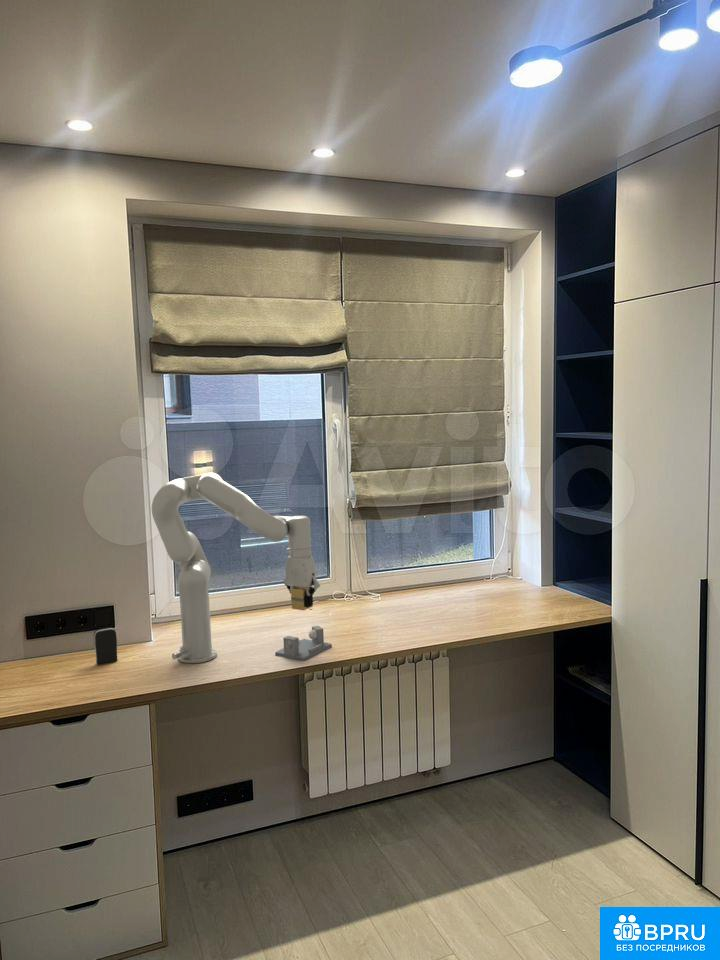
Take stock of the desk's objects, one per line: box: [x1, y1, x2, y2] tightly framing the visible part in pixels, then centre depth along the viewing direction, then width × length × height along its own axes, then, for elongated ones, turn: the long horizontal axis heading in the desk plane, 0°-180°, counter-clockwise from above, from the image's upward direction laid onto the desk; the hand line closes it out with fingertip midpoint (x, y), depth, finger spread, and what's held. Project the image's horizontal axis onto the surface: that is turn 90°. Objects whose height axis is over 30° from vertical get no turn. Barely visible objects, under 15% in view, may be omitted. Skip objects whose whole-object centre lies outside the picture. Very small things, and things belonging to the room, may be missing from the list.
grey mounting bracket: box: [274, 625, 333, 661], centre depth 241 cm, size 16×12×6 cm
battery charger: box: [93, 627, 118, 666], centre depth 235 cm, size 7×4×11 cm, turn 123°
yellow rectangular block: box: [290, 587, 314, 611], centre depth 240 cm, size 5×5×7 cm
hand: (302, 604), depth 240 cm, fingers closed on yellow rectangular block, 5 cm apart
